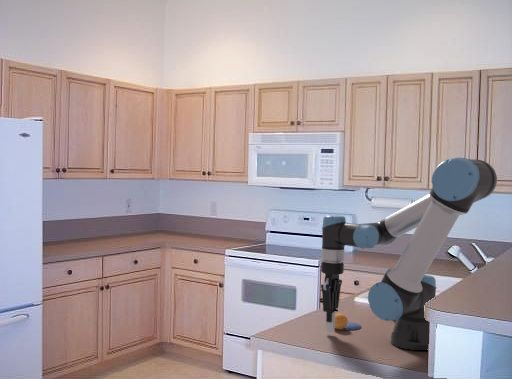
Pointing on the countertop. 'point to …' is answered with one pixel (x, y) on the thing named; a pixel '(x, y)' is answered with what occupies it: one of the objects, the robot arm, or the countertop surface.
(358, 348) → the countertop surface
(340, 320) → the ball
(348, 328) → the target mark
